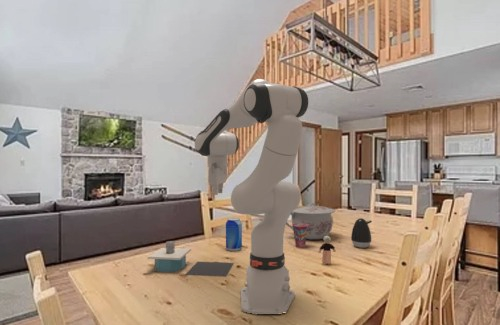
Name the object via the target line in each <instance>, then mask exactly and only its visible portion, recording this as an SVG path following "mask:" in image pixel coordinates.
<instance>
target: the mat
mask: <svg viewBox="0 0 500 325" xmlns="http://www.w3.org/2000/svg"><path fill="white" fill-rule="evenodd" d="M234 264H235V263H234V262H219V261H217V262H216V261H215V262H214V261H196V263H195V264H194V265H192V267H191V268H189V270H188V271H187V272H186V273H185V274H184V276H196V277H197V276H203V277H223V278H224V277H225V278H226V277H227V276H228V274H229V273H230V270H232V267H233V266H234Z"/></svg>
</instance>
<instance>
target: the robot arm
mask: <svg viewBox="0 0 500 325" xmlns="http://www.w3.org/2000/svg"><path fill="white" fill-rule="evenodd" d="M308 96H309V95H308V94H307V92H306V91H305V90H304V89H302V88H300V87H298V86H293V85H291V86H290V85H287V84H286V85H285V84H281V83H271V82H269V81H268V80H266V79H264V78H257V79H254V80H253V81H251V83H249V84H248V86H246V87H245V88H244V90H243V91H242V92H241V94H240V96H239V97H238V98H237V100H236V101H235V102H233V103H232V104H230V105H229V106H228V107H226V108H224V109H222V110H221V111H220V112H218V113H217V115H216V116H215V117H214V118H213V119H212V120H211V121H210V122H209V124H208V125H207V126H206V127H205V128H204V129H203V130H201V131H200V132H199V133H197V135H196V137H195V140H194V148H195V150H196V151H197V153H199V154H200V155H201V156H202V157H207V168H208V179H207V180H208V182H207V183H208V185H210V186H211V188H212V195H213V196H218V194H222V193H223V188H224V183H226V182H227V174H228V167H229V161H228V156H231V155H235V154H236V153H237V152H238V150H239V149H240V140H239V137H238V136H237V135H236V134H235V133H234V132H229V131H228V130H231V129H240V128H250V127H252V126H255V125H256V124H257V123H259V124H263V123H266V125H267V132H266V135H265V139H264V143H263V146H262V151H261V154H260V155H259V157H260V158H259V160H258V162H257V165H256V166H255V168H254V169H253V171H252V172H251V173H250V175H249V176H248V177H247V178H245V179H244V180H243V181H242V182H240V183H239V184H236V185H235V187H234V188H233V190H232V191H231V194H230V202H231V206H232V208H233V209H234V210H235V212H236V213H237V214H243V215H249V216H252V215H253V216H254V215H263V214H264V215H263V218H262V220H261V221H260V222H259V223H258V224H256V225H255V226H254V227H253V228H252V229H251V233H250V249H251V250H250V254H249V266H248V267H246V282H244V287H243V288H241V289H240V292H239V293H240V304H241V306H240V307H241V311H242V312H244V313H246V312H247V313H248V314H250V313H252V314H251V315H257V314H279V313H283V312H286V311H287V310H288V311H289V309H290V307H291V305H292V303H293V301H294V298H295V296H296V292H295V291H294V290H293V289H292V290H291V289H290V288H291V286H290V272H289V271H290V270H289V269H288V268H287V266H285V259H286V258H285V253H284V233H285V228H286V226H287V225H286V222H287V223H288V220H289V218H290V216H291V215H290V214H291V213H293V210H294V209H295V208H297V207H299V205H300V202H301V200H302V199H301V198H302V197H301V190H300V188H299V187H298V185H297V184H296V183H294V182H291V181H286V180H285V181H284V179H286V178H288V177H289V176H290V174H292V172H293V169H294V165H295V161H296V159H297V155H298V152H299V149H300V145H301V139H302V133H303V123H302V121H301V120H300V118H301V117H302V116H304V115H305V114H306V112H307V110H308V108H309V97H308ZM292 300H293V301H292ZM291 302H292V303H291ZM290 304H291V305H290ZM289 306H290V307H289ZM288 308H289V309H288ZM288 311H287V312H288Z"/></svg>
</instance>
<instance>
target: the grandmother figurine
mask: <svg viewBox="0 0 500 325" xmlns="http://www.w3.org/2000/svg"><path fill="white" fill-rule="evenodd" d="M322 240H323V241H324V243H323V244H321V246H320V247H319V249H318V250H317V251H318V253H319V254H320V253H321V251H322V257H321V259H322V260H321V262H322V263H321V265H322V266H326V265H327V266H331V265H333V264H332V251H331V250H333V252H335V253H336V252H337V251H336V247H335V246H334V244H331V241H332V238H331V237H330V236H329V235H328V236H325V237H324V238H323V239H322Z"/></svg>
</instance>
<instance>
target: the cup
mask: <svg viewBox="0 0 500 325" xmlns="http://www.w3.org/2000/svg"><path fill="white" fill-rule="evenodd" d="M308 225H310V224H305V223H295V224H292V223H291V226H293V230H294V231H293V230H292V231H293V236H294V238H293V239H294V244H295V248H297V249H304V248H306V242H307V239H306V236H307V228H308Z"/></svg>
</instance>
